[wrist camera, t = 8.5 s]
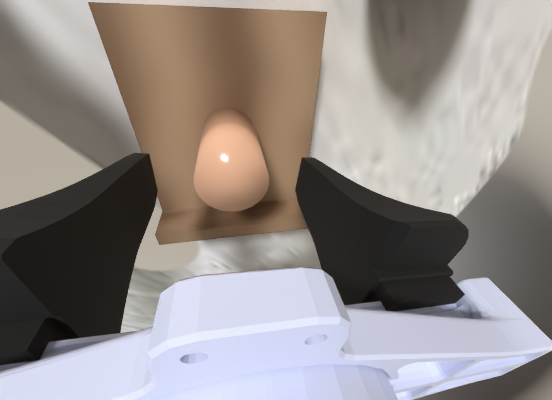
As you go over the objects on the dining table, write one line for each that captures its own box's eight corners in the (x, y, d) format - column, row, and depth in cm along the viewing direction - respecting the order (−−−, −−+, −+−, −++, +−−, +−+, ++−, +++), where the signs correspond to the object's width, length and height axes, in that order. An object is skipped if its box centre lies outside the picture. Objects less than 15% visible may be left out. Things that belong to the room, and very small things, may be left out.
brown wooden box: (171, 200, 20) (159, 244, 16) (109, 4, 12) (56, -2, 8) (295, 190, 22) (310, 228, 18) (312, 12, 14) (347, 10, 10)
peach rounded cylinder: (204, 159, 16) (198, 212, 11) (199, 107, 14) (188, 148, 9) (255, 159, 16) (266, 210, 12) (257, 109, 14) (272, 149, 10)
